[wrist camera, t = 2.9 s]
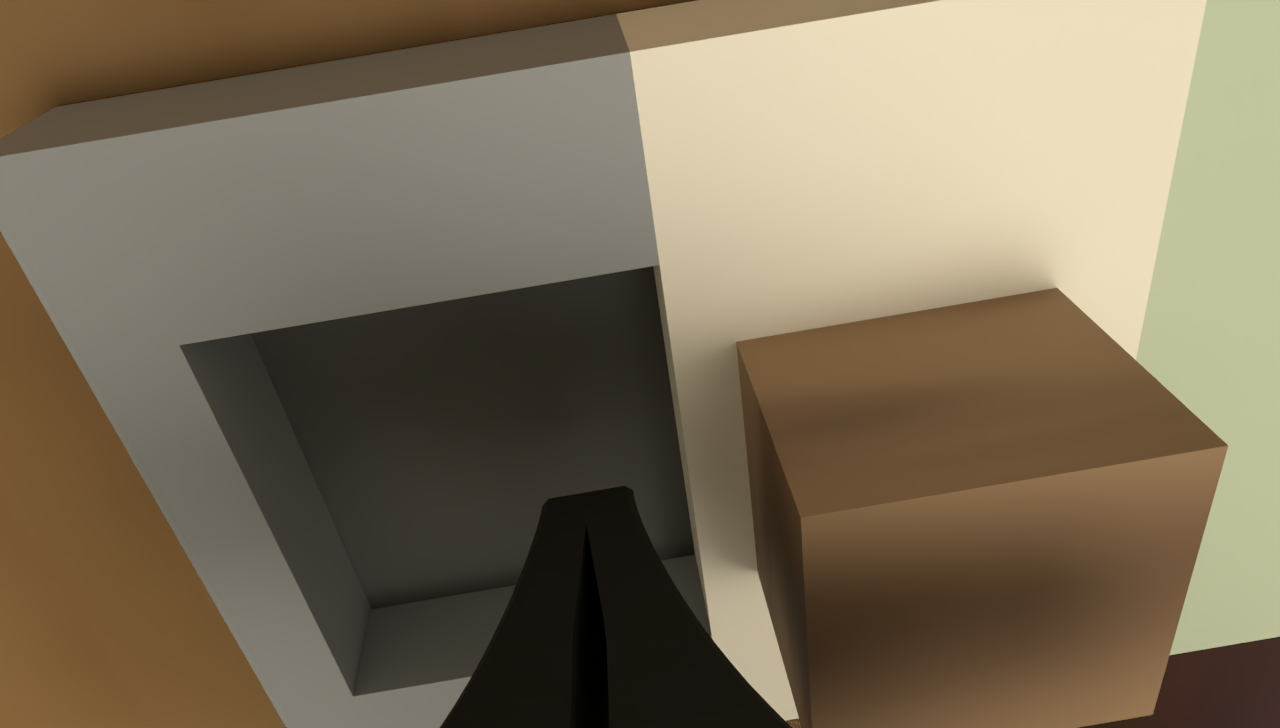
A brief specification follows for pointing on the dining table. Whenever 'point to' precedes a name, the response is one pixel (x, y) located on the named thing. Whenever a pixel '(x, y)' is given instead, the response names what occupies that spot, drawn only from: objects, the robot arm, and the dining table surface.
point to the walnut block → (972, 516)
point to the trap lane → (629, 290)
